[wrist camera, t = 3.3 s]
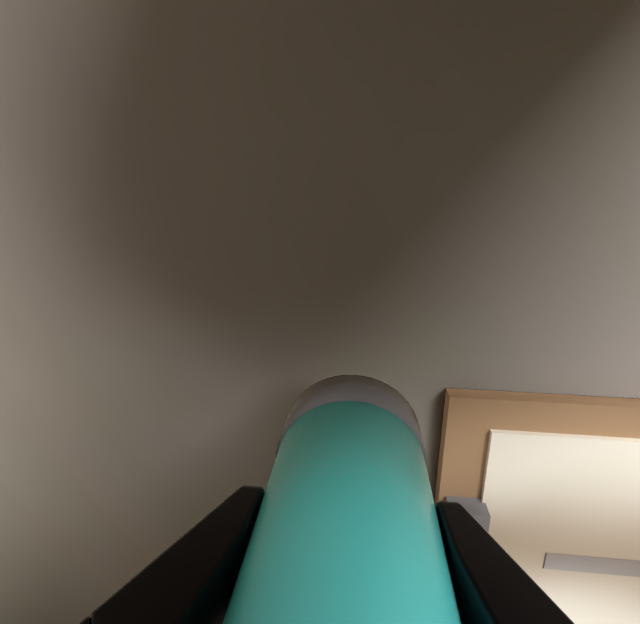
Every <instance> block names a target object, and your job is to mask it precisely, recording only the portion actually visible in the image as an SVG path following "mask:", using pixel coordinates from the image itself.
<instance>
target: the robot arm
mask: <svg viewBox="0 0 640 624" xmlns="http://www.w3.org/2000/svg"><path fill="white" fill-rule="evenodd" d="M264 494H265V492H264V489H263V488H262V487H258V486H242V487H240V488H239V489H238V490H237V491H235V492H234V493H233V494H232V495H231V496H230V497H228V498H227V499H226V500H225V501H224V502H222V503H221V504H220V505H219V506H218V507H216V508H215V509H214V510H213V511H212V512H211V513H209V514H208V515H207V516H206V517H205V518H203V519H202V520H201V521H200V522H199V523H198V524H196V525H195V526H194V527H193V528H192V529H190V530H189V531H188V532H187V533H186V534H184V535H183V536H182V537H181V538H180V539H179V540H177V541H176V542H175V543H174V544H173V545H171V546H170V547H169V548H168V549H167V550H166V551H164V552H163V553H162V554H161V555H160V556H158V557H157V558H156V559H155V560H154V561H152V562H151V563H150V564H149V565H148V566H147V567H145V568H144V569H143V570H142V571H141V572H139V573H138V574H137V575H136V576H135V577H134V578H132V579H131V580H130V581H129V582H128V583H126V584H125V585H124V586H123V587H122V588H121V589H119V590H118V591H117V592H116V593H115V594H113V595H112V596H111V597H110V598H109V599H107V600H106V601H105V602H104V603H103V604H102V605H100V606H99V607H98V608H97V609H96V610H94V611H93V612H92V614H91V618H90V617H86V618H85V619H84V620H82V621H81V622H80V623H79V624H222V623H223V620H224V617H225V614H226V611H227V608H228V605H229V602H230V599H231V596H232V592H233V589H234V586H235V583H236V580H237V577H238V574H239V571H240V568H241V565H242V562H243V559H244V555H245V552H246V549H247V546H248V543H249V540H250V537H251V534H252V531H253V528H254V525H255V521H256V518H257V515H258V512H259V509H260V506H261V503H262V500H263V497H264ZM435 508H436V513H437V517H438V522H439V526H440V530H441V535H442V539H443V544H444V548H445V553H446V557H447V562H448V566H449V570H450V575H451V579H452V584H453V588H454V593H455V597H456V602H457V606H458V610H459V615H460V619H461V624H575V623H574V622H573V621H572V620H571V619H570V618H569V617H568V616H567V615H566V614H565V613H564V612H563V611H562V610H561V609H560V608H559V607H558V606H557V605H556V603H555V602H554V601H553V600H552V599H551V598H550V597H549V596H548V595H547V594H546V593H545V592H544V591H543V590H542V589H541V588H540V587H539V586H538V585H537V583H536V582H535V581H534V580H533V579H532V578H531V577H530V576H529V575H528V574H527V573H526V572H525V571H524V570H523V569H522V568H521V567H520V566H519V565H518V564H517V562H516V561H515V560H514V559H513V558H512V557H511V556H510V555H509V554H508V553H507V552H506V551H505V550H504V549H503V548H502V547H501V546H500V545H499V544H498V542H497V541H496V540H495V539H494V538H493V537H492V536H491V535H490V534H489V533H488V532H487V531H486V530H485V529H484V528H483V527H482V526H481V525H480V524H479V522H478V521H477V520H476V519H475V518H474V517H473V516H472V515H471V514H470V513H469V512H468V511H467V510H466V509H465V508H464V507H463V506H462V505H461V504H460V503H458V502H448V501H438V502H437V504H436V506H435Z"/></svg>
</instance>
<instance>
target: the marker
mask: <svg viewBox="0 0 640 624" xmlns="http://www.w3.org/2000/svg"><path fill="white" fill-rule="evenodd" d="M222 624H461V619H460V615H459V610H458V606H457V602H456V597H455V593H454V588H453V584H452V579H451V575H450V570H449V566H448V562H447V557H446V553H445V548H444V544H443V539H442V535H441V530H440V526H439V522H438V517H437V513H436V508H435V504H434V499H433V495H432V490H431V486H430V482H429V477H428V473H427V459H426V453H425V449H424V444H423V440H422V436H421V432H420V427H419V424H418V420H417V417H416V415H415V413H414V411H413V409H412V407H411V406H410V404H409V403H408V402H407V401H406V399H405V398H404V397H403V396H402V395H401V394H400V393H399V392H397V391H396V390H395V389H393V388H392V387H391V386H389V385H387V384H385V383H383V382H381V381H379V380H376V379H373V378H370V377H365V376H359V375H341V376H334V377H331V378H327V379H324V380H322V381H319V382H317V383H316V384H314V385H312V386H310V387H309V388H308V389H306V390H305V391H304V392H303V393H302V394H301V395H300V396H299V397H298V398H297V400H296V401H295V402H294V404H293V405H292V407H291V409H290V411H289V414H288V416H287V419H286V422H285V425H284V428H283V431H282V434H281V437H280V440H279V443H278V447H277V451H276V460H275V463H274V466H273V469H272V472H271V475H270V478H269V481H268V484H267V488H266V491H265V494H264V497H263V500H262V503H261V506H260V509H259V512H258V515H257V518H256V521H255V525H254V528H253V531H252V534H251V537H250V540H249V543H248V546H247V549H246V552H245V555H244V559H243V562H242V565H241V568H240V571H239V574H238V577H237V580H236V583H235V586H234V589H233V592H232V596H231V599H230V602H229V605H228V608H227V611H226V614H225V617H224V620H223V623H222Z"/></svg>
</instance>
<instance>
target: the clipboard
mask: <svg viewBox="0 0 640 624" xmlns="http://www.w3.org/2000/svg"><path fill="white" fill-rule="evenodd" d="M438 501H448V502H458V503H460V504H461V505H462V506H463V507H464V508H465V509H466V510H467V511H468V512H469V513H470V514H471V515H472V516H473V517H474V518H475V519H476V520H477V521H478V522H479V524H480V525H481V526H482V527H483V528H484V529H485V530H486V531H487V532H488V533H489V534H490V535H491V536H492V537H493V538H494V539H495V540H496V541H497V542H498V544H499V545H500V546H501V547H502V548H503V549H504V550H505V551H506V552H507V553H508V554H509V555H510V556H511V557H512V558H513V559H514V560H515V561H516V562H517V564H518V565H519V566H520V567H521V568H522V569H523V570H524V571H525V572H526V573H527V574H528V575H529V576H530V577H531V578H532V579H533V580H534V581H535V582H536V583H537V585H538V586H539V587H540V588H541V589H542V590H543V591H544V592H545V593H546V594H547V595H548V596H549V597H550V598H551V599H552V600H553V601H554V602H555V603H556V605H557V606H558V607H559V608H560V609H561V610H562V611H563V612H564V613H565V614H566V615H567V616H568V617H569V618H570V619H571V620H572V621H573V622H574V623H575V624H640V399H634V398H616V397H598V396H580V395H562V394H544V393H526V392H508V391H490V390H472V389H454V388H446V394H445V404H444V413H443V423H442V433H441V442H440V452H439V461H438V471H437V480H436V490H435V499H434V504H435V506H436V504H437V502H438Z"/></svg>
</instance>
